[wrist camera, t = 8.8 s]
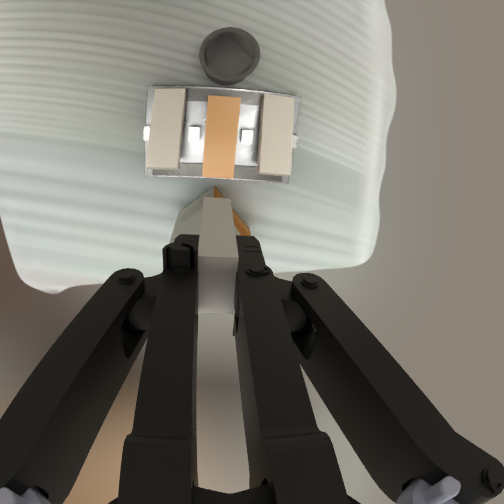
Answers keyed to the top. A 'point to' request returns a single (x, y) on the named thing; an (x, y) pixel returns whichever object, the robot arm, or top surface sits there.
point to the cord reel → (229, 55)
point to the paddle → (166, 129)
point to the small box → (192, 216)
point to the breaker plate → (196, 133)
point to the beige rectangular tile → (275, 135)
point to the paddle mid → (221, 136)
